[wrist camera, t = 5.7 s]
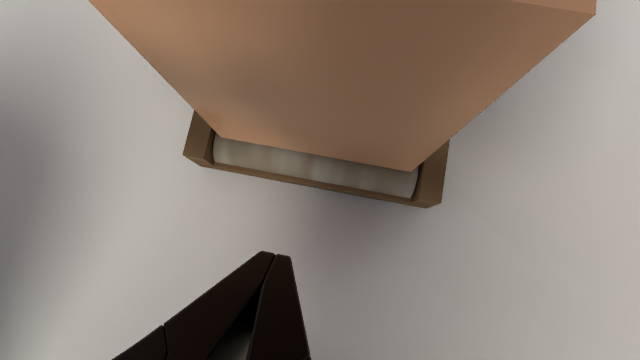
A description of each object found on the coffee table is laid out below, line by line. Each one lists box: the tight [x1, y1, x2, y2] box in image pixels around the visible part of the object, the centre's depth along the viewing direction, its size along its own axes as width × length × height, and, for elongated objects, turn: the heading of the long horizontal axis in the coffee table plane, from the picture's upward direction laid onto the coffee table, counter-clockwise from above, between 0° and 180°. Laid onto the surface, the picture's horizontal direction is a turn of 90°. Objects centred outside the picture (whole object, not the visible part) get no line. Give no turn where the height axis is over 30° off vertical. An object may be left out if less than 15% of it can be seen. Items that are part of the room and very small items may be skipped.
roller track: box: [183, 110, 450, 208], centre depth 18 cm, size 14×12×6 cm
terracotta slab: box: [89, 0, 596, 172], centre depth 12 cm, size 6×9×12 cm, turn 79°
